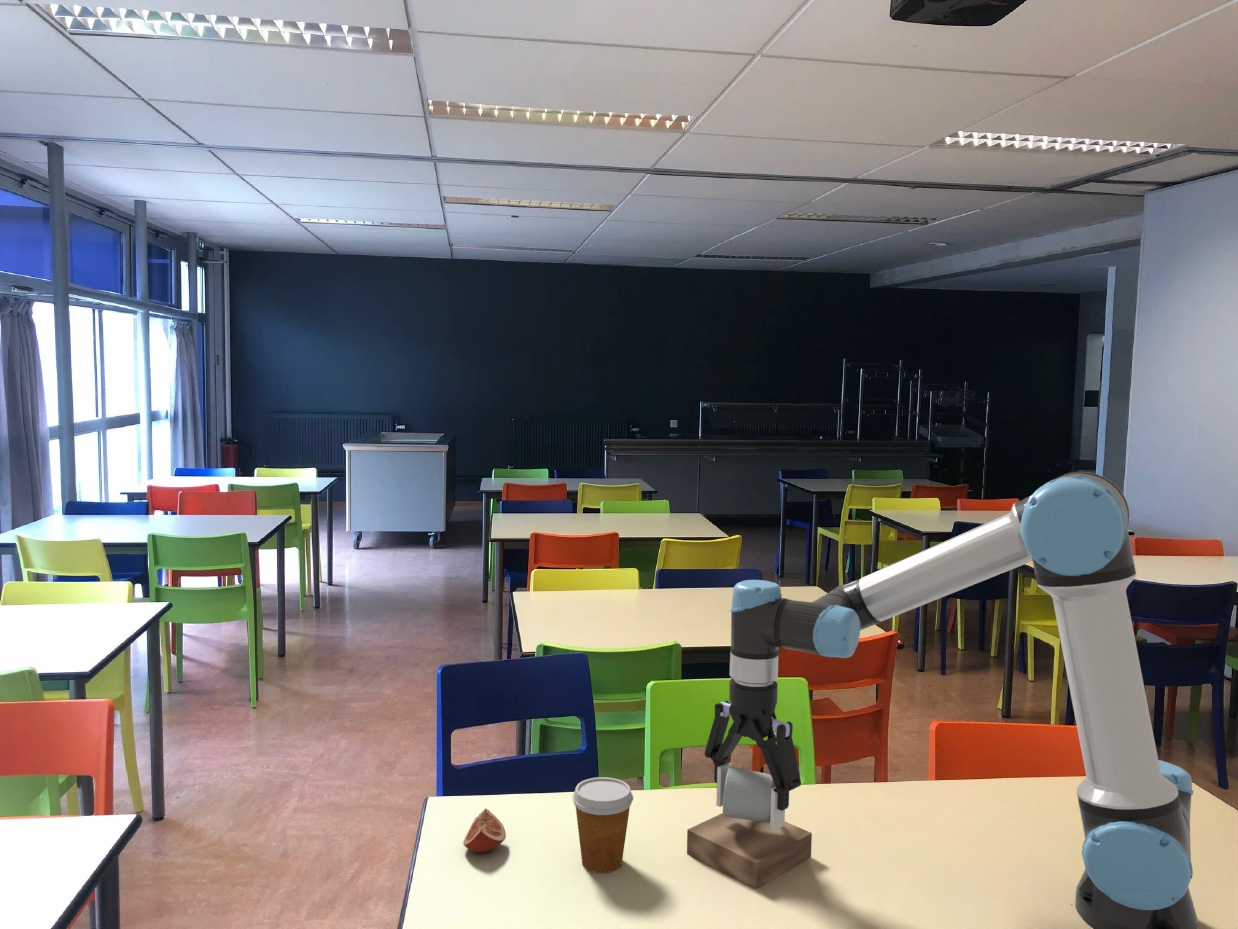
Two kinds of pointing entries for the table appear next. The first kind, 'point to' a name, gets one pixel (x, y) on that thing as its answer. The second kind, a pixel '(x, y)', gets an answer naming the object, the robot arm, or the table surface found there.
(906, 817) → the table surface
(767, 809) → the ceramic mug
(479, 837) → the fruit slice
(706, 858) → the block
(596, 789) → the disposable coffee cup
